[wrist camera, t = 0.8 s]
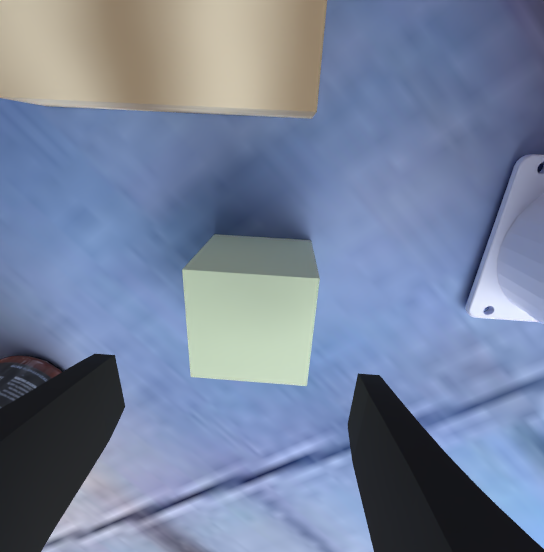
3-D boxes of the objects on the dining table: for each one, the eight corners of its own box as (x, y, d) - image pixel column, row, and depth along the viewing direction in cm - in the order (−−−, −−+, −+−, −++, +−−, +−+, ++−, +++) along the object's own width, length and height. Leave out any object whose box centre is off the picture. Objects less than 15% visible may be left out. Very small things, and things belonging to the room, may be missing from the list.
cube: (310, 239, 15) (319, 278, 11) (302, 322, 17) (306, 385, 13) (214, 233, 15) (182, 269, 11) (217, 316, 17) (190, 377, 13)
